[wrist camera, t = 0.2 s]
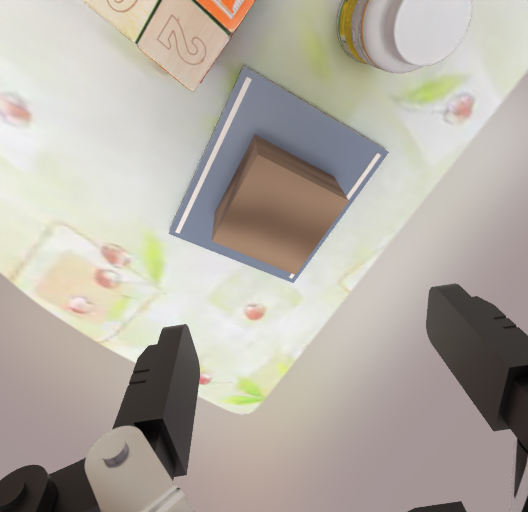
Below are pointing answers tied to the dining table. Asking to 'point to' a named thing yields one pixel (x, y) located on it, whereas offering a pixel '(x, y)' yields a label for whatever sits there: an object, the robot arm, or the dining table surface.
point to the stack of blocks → (176, 31)
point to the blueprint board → (283, 136)
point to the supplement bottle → (402, 31)
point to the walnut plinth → (277, 207)
